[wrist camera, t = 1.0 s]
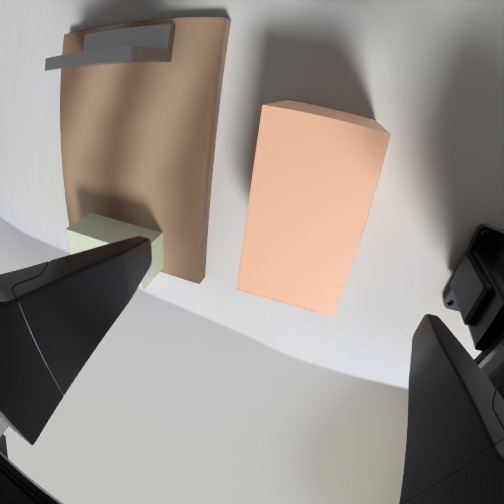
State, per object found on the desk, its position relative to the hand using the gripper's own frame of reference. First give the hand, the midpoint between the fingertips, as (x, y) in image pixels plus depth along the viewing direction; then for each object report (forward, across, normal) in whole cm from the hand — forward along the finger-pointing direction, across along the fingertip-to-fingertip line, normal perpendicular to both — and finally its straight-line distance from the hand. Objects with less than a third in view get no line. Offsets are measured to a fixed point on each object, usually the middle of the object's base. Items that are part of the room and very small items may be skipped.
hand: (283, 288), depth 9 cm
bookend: (+9, +13, -7) cm, 18 cm away
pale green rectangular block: (+10, +13, +7) cm, 18 cm away
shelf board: (+10, +13, 0) cm, 17 cm away
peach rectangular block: (+11, 0, 0) cm, 11 cm away
